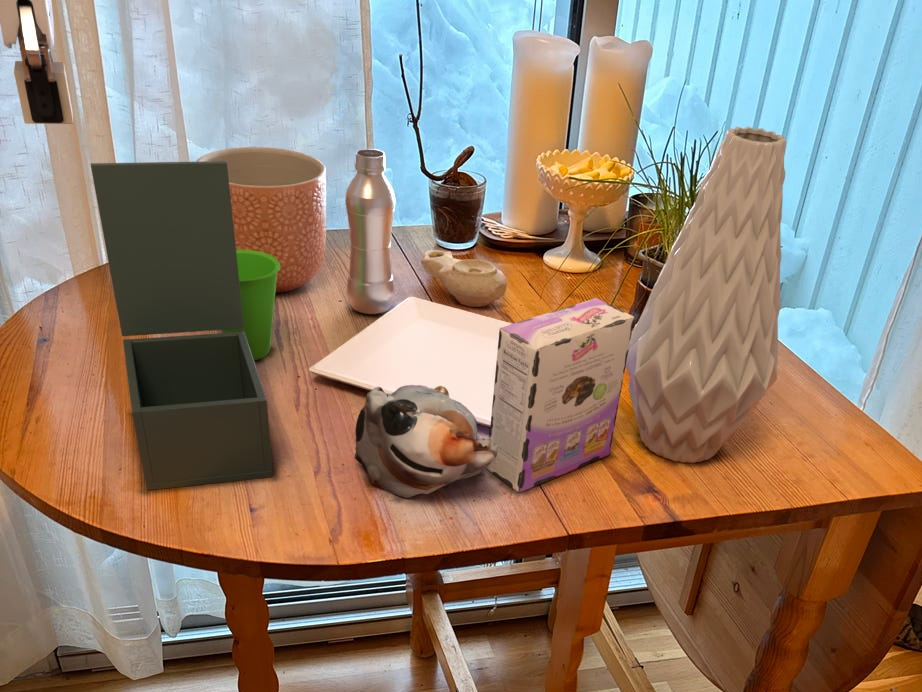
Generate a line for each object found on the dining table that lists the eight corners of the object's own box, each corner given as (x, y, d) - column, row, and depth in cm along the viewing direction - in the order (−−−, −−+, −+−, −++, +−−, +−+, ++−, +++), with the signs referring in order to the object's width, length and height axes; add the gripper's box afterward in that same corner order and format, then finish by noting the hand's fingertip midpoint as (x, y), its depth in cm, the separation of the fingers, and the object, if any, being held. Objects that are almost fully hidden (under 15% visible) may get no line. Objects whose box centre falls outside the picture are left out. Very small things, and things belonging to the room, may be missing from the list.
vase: (776, 479, 106) (882, 164, 84) (636, 486, 103) (708, 160, 81) (719, 405, 118) (799, 112, 96) (592, 409, 115) (645, 107, 93)
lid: (227, 162, 93) (221, 153, 96) (90, 165, 89) (89, 154, 93) (244, 328, 103) (238, 314, 106) (122, 336, 99) (120, 321, 103)
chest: (273, 477, 99) (267, 400, 93) (146, 490, 95) (132, 412, 89) (251, 404, 110) (244, 331, 104) (136, 414, 106) (122, 339, 100)
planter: (335, 303, 132) (332, 187, 121) (209, 305, 128) (195, 186, 118) (322, 256, 144) (318, 147, 134) (206, 257, 140) (193, 145, 130)
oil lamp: (427, 273, 142) (429, 238, 139) (518, 292, 139) (522, 257, 136) (400, 298, 135) (401, 263, 131) (496, 319, 132) (499, 283, 128)
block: (24, 123, 104) (13, 71, 100) (25, 111, 107) (14, 60, 104) (73, 124, 105) (64, 72, 102) (72, 112, 109) (63, 62, 105)
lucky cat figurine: (500, 453, 105) (532, 382, 93) (456, 540, 101) (484, 477, 88) (378, 392, 105) (394, 311, 92) (329, 476, 100) (338, 404, 87)
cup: (234, 374, 114) (225, 284, 107) (198, 345, 119) (187, 257, 112) (299, 357, 119) (294, 269, 112) (262, 330, 124) (255, 244, 116)
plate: (585, 356, 125) (587, 341, 124) (505, 444, 107) (507, 428, 106) (409, 309, 132) (410, 294, 131) (307, 384, 114) (306, 368, 113)
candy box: (574, 434, 110) (597, 295, 99) (610, 457, 107) (638, 315, 96) (483, 469, 103) (497, 323, 92) (519, 494, 100) (537, 347, 89)
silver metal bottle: (403, 308, 132) (407, 153, 119) (375, 324, 128) (376, 165, 114) (366, 295, 134) (365, 141, 121) (337, 311, 130) (332, 153, 116)
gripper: (-28, -102, 99) (13, 95, 111) (-39, -82, 87) (9, 136, 99) (49, -96, 101) (82, 96, 113) (50, -76, 89) (86, 137, 101)
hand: (48, 113), depth 106 cm, fingers closed on block, 5 cm apart
